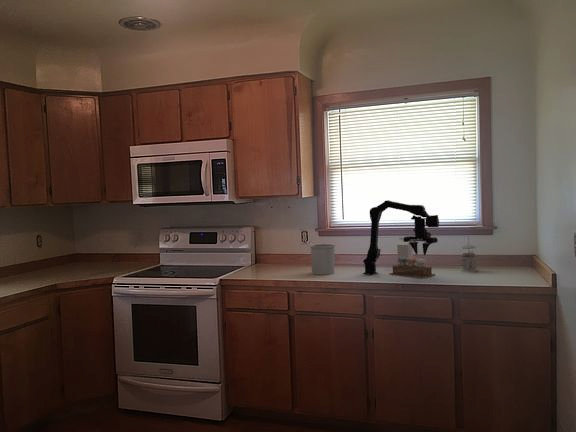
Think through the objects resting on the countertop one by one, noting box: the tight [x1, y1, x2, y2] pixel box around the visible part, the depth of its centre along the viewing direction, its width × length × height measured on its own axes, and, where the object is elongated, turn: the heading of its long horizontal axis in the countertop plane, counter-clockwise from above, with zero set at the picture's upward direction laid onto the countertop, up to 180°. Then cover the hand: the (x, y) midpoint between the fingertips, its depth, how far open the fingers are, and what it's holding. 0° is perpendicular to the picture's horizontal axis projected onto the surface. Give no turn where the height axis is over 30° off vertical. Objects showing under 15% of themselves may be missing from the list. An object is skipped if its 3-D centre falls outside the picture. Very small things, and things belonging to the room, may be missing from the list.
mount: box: [388, 264, 436, 279], centre depth 279 cm, size 12×23×5 cm, turn 43°
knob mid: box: [407, 257, 417, 267], centre depth 278 cm, size 5×5×5 cm
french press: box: [460, 227, 479, 273], centre depth 284 cm, size 10×12×25 cm
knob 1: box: [397, 257, 407, 266], centre depth 283 cm, size 5×5×5 cm
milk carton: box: [396, 237, 414, 265], centre depth 302 cm, size 7×7×19 cm
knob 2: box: [415, 258, 427, 268], centre depth 274 cm, size 5×5×5 cm
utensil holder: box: [310, 242, 335, 276], centre depth 296 cm, size 15×15×18 cm
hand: (420, 254), depth 274 cm, fingers open, 5 cm apart
